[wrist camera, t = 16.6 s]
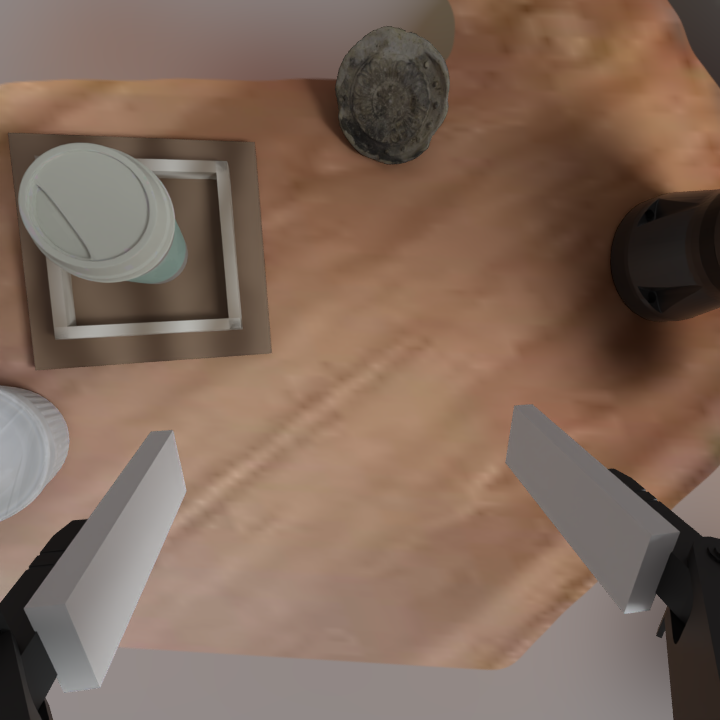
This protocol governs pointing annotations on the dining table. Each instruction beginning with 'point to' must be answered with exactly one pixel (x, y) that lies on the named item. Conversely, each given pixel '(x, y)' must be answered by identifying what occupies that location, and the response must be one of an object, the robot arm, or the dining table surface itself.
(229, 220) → the locating board
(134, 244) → the coffee cup
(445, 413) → the dining table surface
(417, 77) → the fossil
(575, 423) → the dining table surface
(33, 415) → the ramekin
